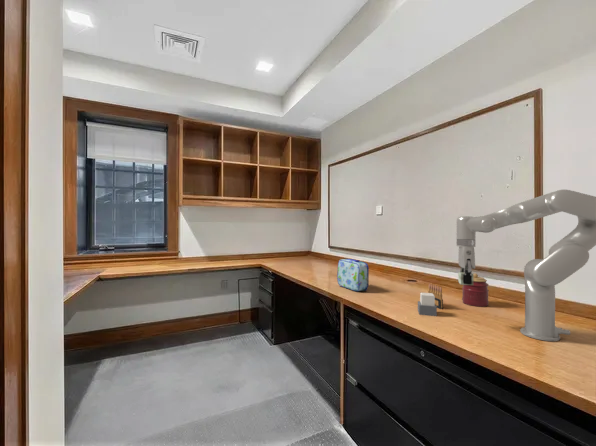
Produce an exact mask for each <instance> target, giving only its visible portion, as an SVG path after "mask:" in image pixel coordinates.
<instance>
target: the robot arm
mask: <svg viewBox="0 0 596 446" xmlns="http://www.w3.org/2000/svg"><path fill="white" fill-rule="evenodd" d="M562 212H563V213H566V214H569V215H572V216H576V217H577V220H578V222H577V225H576V226H575V228H573V230H572V231H570V232H569V233H568V234H567V235H565V236H564V237H563V238H560V240H559V241H557V242H555V243H554V244H553V245H552V246H550V248H549V249H548V255H547V256H546V257H544V258H543V259H542V258H535V259H532V260H529V261H528V262H527V263H526V264H525V265H524V267H523V268H524V270H523V277H524V327H521V328H520V330H519V331H520V333H521V334H522V335H524V336H526V337H529V338H532V339H535V340H539V341H544V342H545V341H546V342H558V341H560V340H561V335H566V336H570V335H571V331H570V329H563V328H562V327H557V326H556V288H555V286H556V285H559V284H560V283H562V282H564V280H566V279H568V278H569V277H571V276H572V275H573V274H575V273H576V272H578V271H579V270H580V269H582V268H583V267H584V266H586V264H587V263H588V262H589V259H590V253H589V251H590V250H592V249H594V247H595V246H596V196H594V195H590V194H586V193H582V192H578V191H575V190H571V189H559V190H555V191H551V192H549V193H546V194H542V195H540V196H537V197H534V198H531V199H528V200H525V201H521V202H518V203H515V204H512V205H511V206H508V207H506V208H504V209H500V210H498V211H495V212H491V213H488V214H486V215H482V216H481V215H480V216H458V217H457V218H456V247H458V260H457V261H458V266H459V267H460V271H459V272H464V275H463V283H464V284H472V274H473V272H472V269H473V270H475V269H476V253H475V248H476V232H477V233H485V234H487V233H489V234H490V233H491V232H494V231H495V230H497V229H501V228H504V227H507V226H513V225H518V224H524V223H527V222H531V221H534V220H537V219H541V218H544V217H548V216H551V215H555V214H558V213H562Z"/></svg>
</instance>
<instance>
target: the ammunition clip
mask: <svg viewBox="0 0 596 446" xmlns="http://www.w3.org/2000/svg"><path fill="white" fill-rule="evenodd" d="M427 293H433V295H434V296H435V305H436V306H437V309H439V310H442V309H444V299H443V288H442V286H440V285H435V284H433V283H430V282H429V284H428V290H427Z"/></svg>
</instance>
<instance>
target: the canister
mask: <svg viewBox="0 0 596 446" xmlns="http://www.w3.org/2000/svg"><path fill="white" fill-rule="evenodd" d="M472 274H473V285H462V288H461V289H462V297H461V298H462V299H461V300H462V303H463V304H465V305H467V306H472V307H487V306H489V289H488V287H489V283H487V281H488V280H487V278H484V277H482V276H479V274H478V273H476V272H475V273H472Z"/></svg>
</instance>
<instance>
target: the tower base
mask: <svg viewBox="0 0 596 446" xmlns="http://www.w3.org/2000/svg"><path fill="white" fill-rule="evenodd" d="M437 310H438V308H437V306H436V305H435V306H427V305H421V302H420V300H418V301H417V312H418V314H419V315H420V316H429V317H437V315H438V313H437V312H438V311H437Z"/></svg>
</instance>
